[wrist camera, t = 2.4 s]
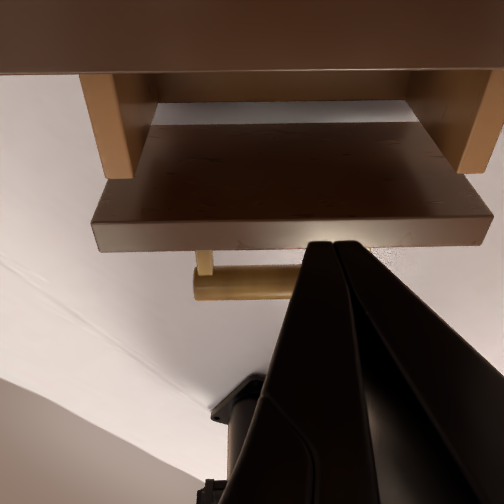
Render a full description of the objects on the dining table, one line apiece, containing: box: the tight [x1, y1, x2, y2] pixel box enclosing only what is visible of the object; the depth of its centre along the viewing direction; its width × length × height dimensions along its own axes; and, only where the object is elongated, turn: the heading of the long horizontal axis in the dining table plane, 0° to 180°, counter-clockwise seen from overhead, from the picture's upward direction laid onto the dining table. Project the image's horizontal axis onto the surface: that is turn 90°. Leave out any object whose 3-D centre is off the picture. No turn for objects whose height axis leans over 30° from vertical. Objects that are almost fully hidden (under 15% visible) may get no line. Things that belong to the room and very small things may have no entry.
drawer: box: [79, 70, 504, 301], centre depth 13 cm, size 18×12×6 cm, turn 0°
